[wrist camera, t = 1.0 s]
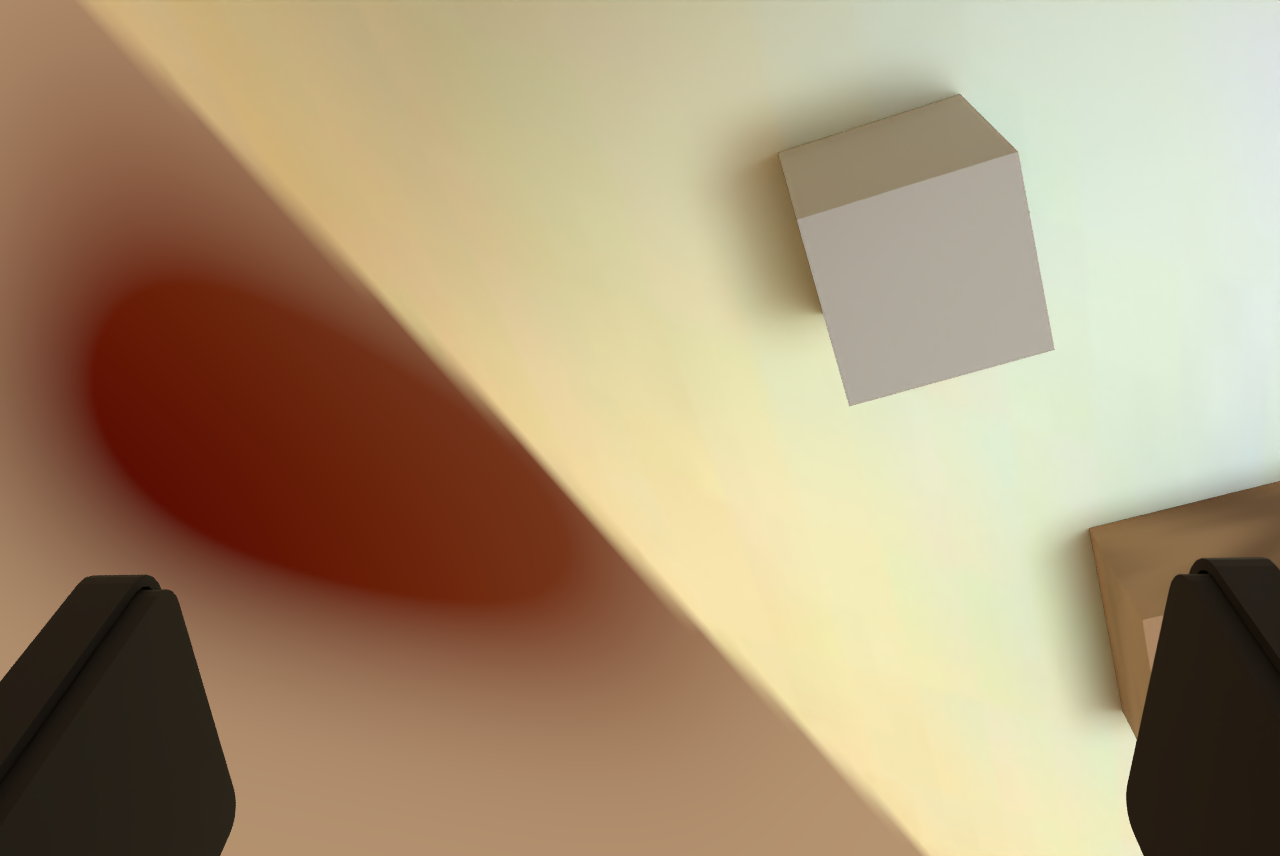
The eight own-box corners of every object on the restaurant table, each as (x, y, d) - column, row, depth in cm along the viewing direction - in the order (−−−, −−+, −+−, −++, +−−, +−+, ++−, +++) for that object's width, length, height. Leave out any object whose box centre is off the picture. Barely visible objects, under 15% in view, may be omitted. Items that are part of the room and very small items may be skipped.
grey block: (959, 93, 30) (1017, 151, 25) (994, 263, 32) (1054, 350, 27) (778, 151, 31) (796, 219, 26) (823, 313, 33) (849, 406, 28)
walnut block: (1349, 458, 35) (1444, 550, 31) (1360, 654, 39) (1448, 760, 34) (1087, 524, 37) (1141, 620, 32) (1120, 706, 40) (1174, 815, 36)
